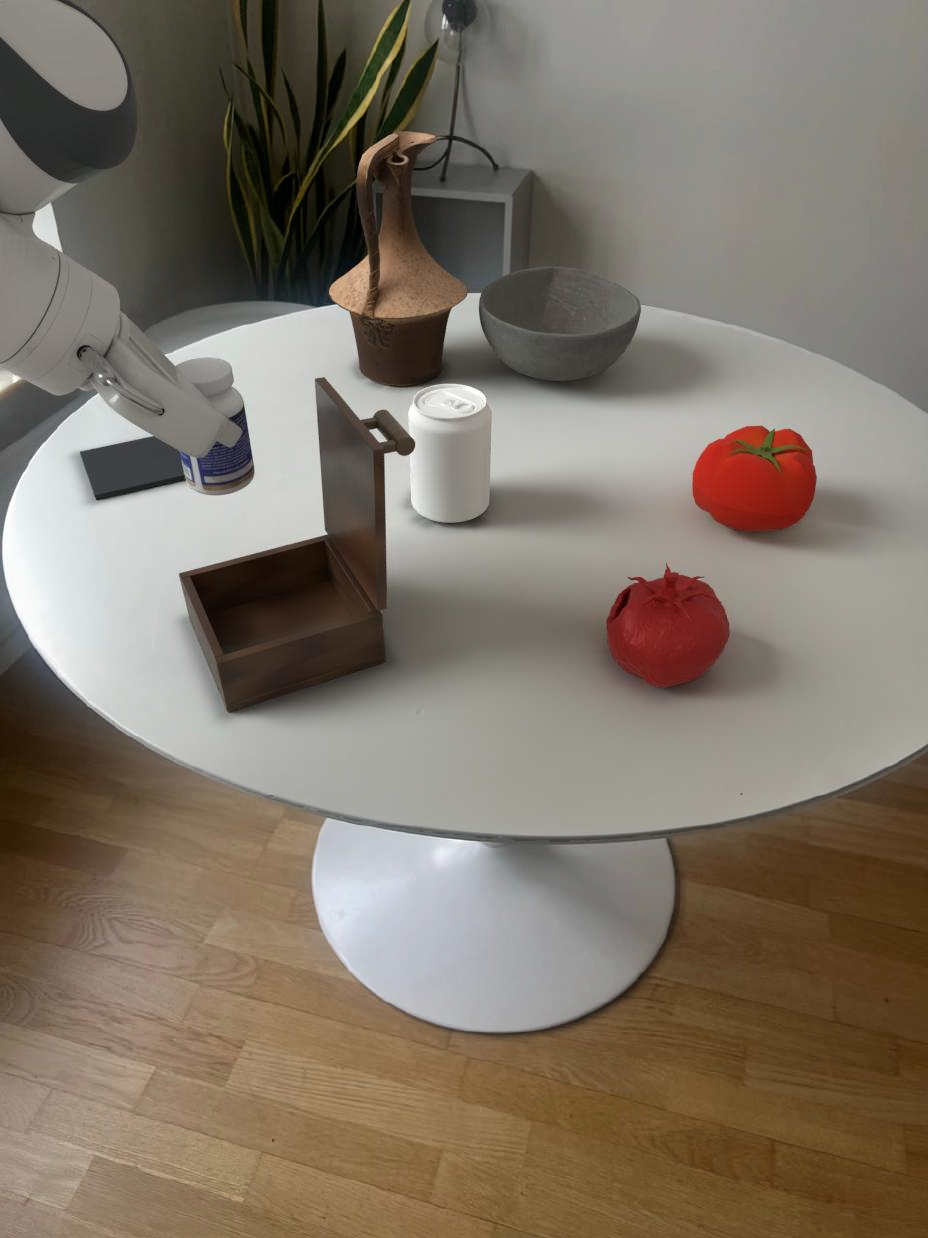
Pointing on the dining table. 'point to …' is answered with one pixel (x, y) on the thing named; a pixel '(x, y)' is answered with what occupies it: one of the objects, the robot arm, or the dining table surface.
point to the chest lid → (357, 484)
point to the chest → (282, 621)
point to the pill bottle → (222, 464)
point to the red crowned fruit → (667, 629)
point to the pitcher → (396, 274)
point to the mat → (131, 466)
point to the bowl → (558, 322)
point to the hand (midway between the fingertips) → (216, 417)
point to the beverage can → (450, 452)
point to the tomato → (756, 479)
